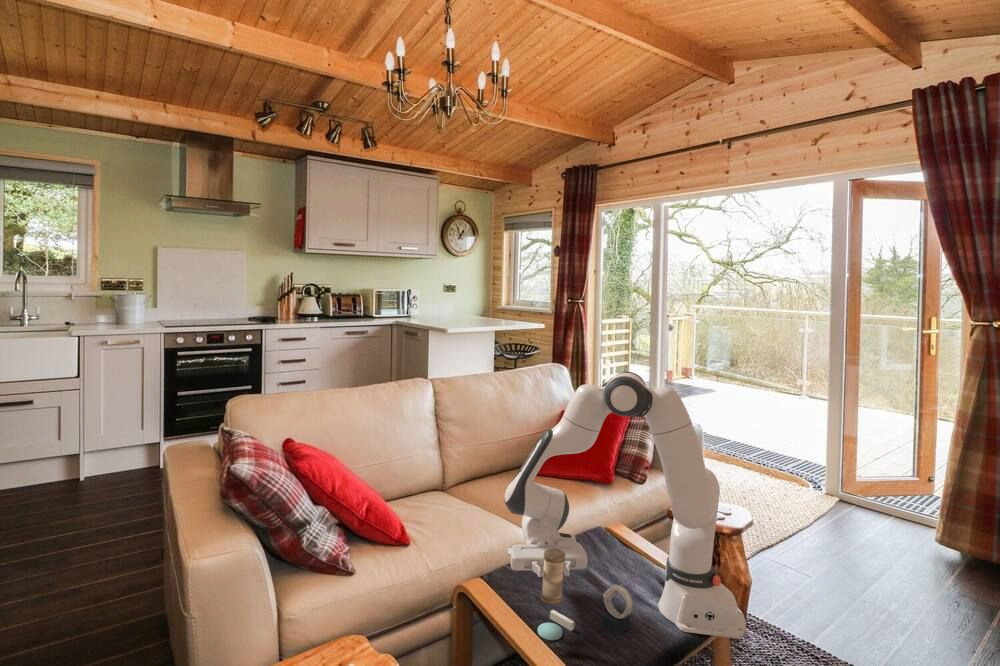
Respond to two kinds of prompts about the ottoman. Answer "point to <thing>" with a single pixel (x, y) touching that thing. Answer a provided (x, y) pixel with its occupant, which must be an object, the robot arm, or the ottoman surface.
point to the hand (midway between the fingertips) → (554, 574)
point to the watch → (617, 610)
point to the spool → (553, 576)
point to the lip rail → (562, 620)
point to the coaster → (550, 631)
